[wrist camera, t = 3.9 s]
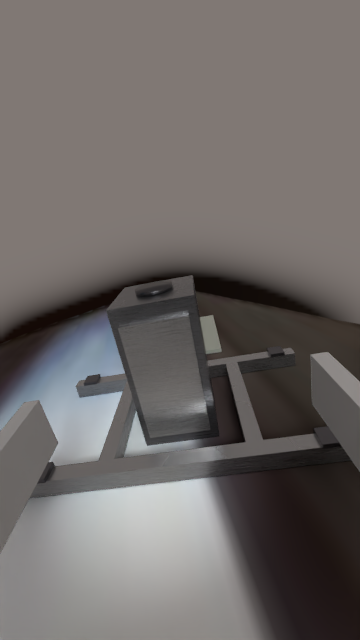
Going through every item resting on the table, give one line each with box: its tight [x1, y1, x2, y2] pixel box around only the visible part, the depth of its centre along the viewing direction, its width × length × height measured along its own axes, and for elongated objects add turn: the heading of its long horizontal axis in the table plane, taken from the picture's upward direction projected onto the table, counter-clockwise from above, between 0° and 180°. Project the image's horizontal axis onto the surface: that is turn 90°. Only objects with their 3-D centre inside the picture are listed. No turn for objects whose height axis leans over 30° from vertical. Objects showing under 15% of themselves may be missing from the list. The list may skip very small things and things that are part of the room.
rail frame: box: [30, 346, 351, 498], centre depth 21 cm, size 20×11×2 cm, turn 89°
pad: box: [200, 315, 222, 354], centre depth 34 cm, size 10×10×1 cm
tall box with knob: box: [106, 275, 219, 446], centre depth 19 cm, size 5×6×10 cm
